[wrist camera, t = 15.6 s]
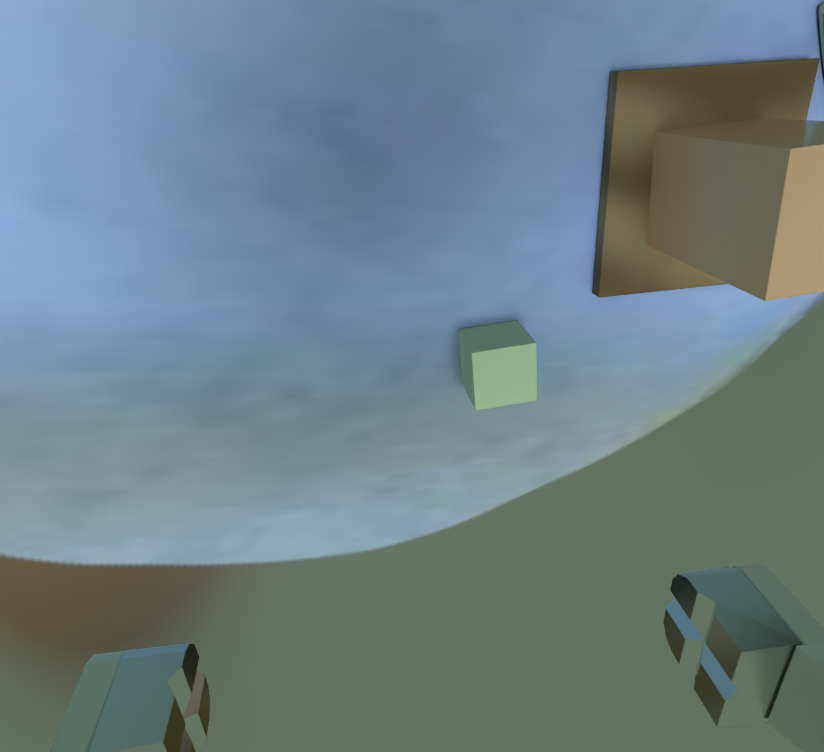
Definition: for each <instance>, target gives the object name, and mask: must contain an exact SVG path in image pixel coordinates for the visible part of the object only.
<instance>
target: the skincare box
mask: <svg viewBox="0 0 824 752" xmlns="http://www.w3.org/2000/svg"><path fill="white" fill-rule="evenodd" d="M819 23H820V37H821V49H822V58H823V68H824V3H823V4H822V5H821V6H820V7H819Z"/></svg>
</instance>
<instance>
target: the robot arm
mask: <svg viewBox="0 0 824 752" xmlns="http://www.w3.org/2000/svg"><path fill="white" fill-rule="evenodd" d="M670 591H671V592H672V594H673V595H674V596H675V599H674V600H673V601H672V602H671V603H670V604H669V606H668V607H666V610H665V616H664V628H665V634H666V639H667V641H668V644H669V646H670V649H671V651H672V653H673V655H674V656H675V658H676V660H677V661H678V663H679V665H681V666H682V667H684V668H685V669H687V670H688V671H690V672H691V673H693V674H694V675H695V682H694V690H695V692H696V693H697V695H698V696H699V698H700V700H701V701H702V703H703V705H704V706H705V708H706V709H707V711H708V713H709V714H710V716H711V718H712V719H713V721H714V723H715V724H716V726H717V727H720V726H728V725H735V724H742V723H750V722H756V721H763V720H768V721H767V724H769V725H770V726H771V727H772V728H773V729H775V730H776V731H777V732H778V733H780V734H781V735H782V736H784V737H785V738H786V739H787V740H789V741H790V742H791V743H792V744H794V745H795V746H796V747H798V748H799V749H800V750H801V751H803V752H824V626H823V625H822V624H821V623H820V622H819V621H818V620H817V619H816V618H815V617H814V616H813V615H812V613H811V612H810V611H809V610H808V609H807V608H806V607H805V606H804V605H803V603H802V602H801V601H800V600H799V599H798V598H797V597H796V596H795V595H794V594H793V593H792V591H790V589H789V588H788V587H787V586H786V585H785V584H784V583H783V582H782V581H781V579H780V578H779V577H778V576H777V575H776V574H775V573H774V572H773V571H772V570H771V569H770V568H769V567H768V566H767V565H765V564H763V563H761V562H758V563H751V564H744V565H737V566H732V567H729V566H727V567H720V568H713V569H707V570H701V571H694V572H688V573H681V574H677V575H676V577H674V578H673V580H672V584H671V588H670ZM198 662H199V654H198V652H197V649H196V646H195V644H194V643H193V644H181V645H173V646H164V647H155V648H146V649H138V650H129V651H122V652H114V653H106V654H98V655H93V656H92V658H91V659H90V660H89V662H88V663H87V664H86V665H85V667H84V669H83V672H82V674H81V677H80V679H79V682H78V684H77V687H76V689H75V692H74V694H73V696H72V699H71V702H70V704H69V706H68V709H67V711H66V714H65V716H64V719H63V721H62V723H61V726H60V728H59V731H58V733H57V736H56V738H55V741H54V743H53V746H52V748H51V750H50V752H196V751H197V750H198V748H199V747H200V746H201V745H202V743H203V742H204V741H205V739H206V738H207V732H208V726H209V718H210V694H209V688H208V687H209V686H208V683H207V679H206V676H205V675H204V674H202V673H201V672H199V671H198V670H197V667H198Z"/></svg>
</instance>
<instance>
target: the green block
mask: <svg viewBox="0 0 824 752" xmlns="http://www.w3.org/2000/svg"><path fill="white" fill-rule="evenodd" d="M458 335H459V348H460V361H461V373H462V383H463V385H464V388H465V390H466V392H467V394H468V396H469V398H470V400H471V402H472V404H473V406H474V408H475V410H481V409H487V408H493V407H499V406H505V405H511V404H517V403H523V402H529V401H535V400H537V362H536V342H535V341H534V340H533V338H532V337H531V336H530V335H529V334H528V333H527V331H526V330H525V329H524V328H523V327H522V326H521V325H520V323H519V322H518V321H517V320H516V321H509V322H503V323H496V324H490V325H483V326H477V327H470V328H464V329H458Z"/></svg>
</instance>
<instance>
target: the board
mask: <svg viewBox="0 0 824 752" xmlns="http://www.w3.org/2000/svg"><path fill="white" fill-rule="evenodd" d="M819 59H820V58H814V59H799V60H784V61H768V62H753V63H738V64H723V65H707V66H692V67H677V68H662V69H647V70H631V71H616V72H610V81H609V93H608V105H607V118H606V130H605V143H604V155H603V167H602V180H601V192H600V204H599V217H598V229H597V241H596V254H595V266H594V278H593V291H592V293H593V294H595V295H596V296H597V297H608V296H617V295H627V294H636V293H646V292H655V291H665V290H674V289H684V288H694V287H703V286H713V285H722V284H728V283H726V282H724V281H722V280H720V279H717V278H715V277H713V276H711V275H709V274H707V273H705V272H703V271H700V270H698V269H696V268H694V267H692V266H690V265H688V264H686V263H683V262H681V261H679V260H677V259H675V258H673V257H671V256H668V255H666V254H664V253H662V252H660V251H658V250H656V249H654V248H651V247H649V246H647V237H648V223H649V208H650V193H651V179H652V164H653V150H654V135H655V132H663V131H670V130H677V129H685V128H692V127H699V126H706V125H714V124H721V123H728V122H736V121H743V120H750V119H757V118H773V119H791V120H806V118H807V113H808V109H809V104H810V100H811V95H812V91H813V86H814V82H815V77H816V72H817V68H818V63H819Z"/></svg>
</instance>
